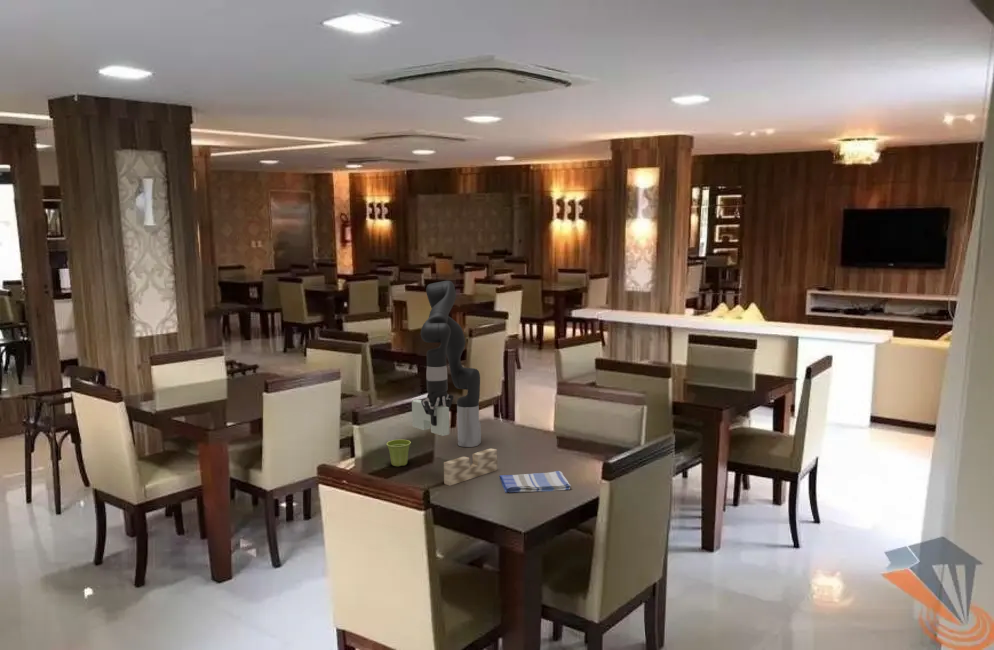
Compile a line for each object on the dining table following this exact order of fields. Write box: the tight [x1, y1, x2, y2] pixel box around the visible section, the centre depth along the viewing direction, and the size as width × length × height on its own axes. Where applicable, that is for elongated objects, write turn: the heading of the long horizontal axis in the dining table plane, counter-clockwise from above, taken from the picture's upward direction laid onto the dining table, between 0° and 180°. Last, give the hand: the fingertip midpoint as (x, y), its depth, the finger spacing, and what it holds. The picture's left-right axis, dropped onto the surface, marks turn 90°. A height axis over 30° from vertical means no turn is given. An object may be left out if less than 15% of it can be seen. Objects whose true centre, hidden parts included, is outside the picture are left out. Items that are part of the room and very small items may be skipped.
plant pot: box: [386, 439, 412, 467], centre depth 287 cm, size 9×9×9 cm
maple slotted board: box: [443, 448, 498, 486], centre depth 270 cm, size 24×3×8 cm, turn 135°
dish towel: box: [499, 470, 572, 494], centre depth 262 cm, size 17×24×3 cm
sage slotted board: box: [411, 399, 450, 437], centre depth 268 cm, size 3×18×10 cm, turn 44°
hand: (438, 424), depth 265 cm, fingers closed on sage slotted board, 3 cm apart
